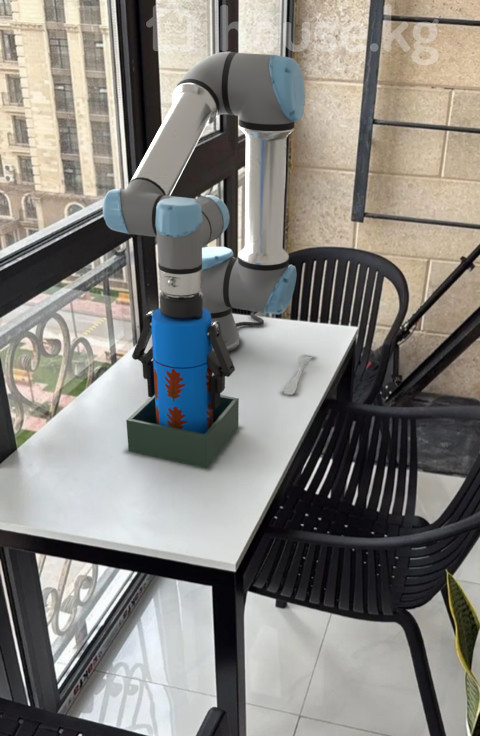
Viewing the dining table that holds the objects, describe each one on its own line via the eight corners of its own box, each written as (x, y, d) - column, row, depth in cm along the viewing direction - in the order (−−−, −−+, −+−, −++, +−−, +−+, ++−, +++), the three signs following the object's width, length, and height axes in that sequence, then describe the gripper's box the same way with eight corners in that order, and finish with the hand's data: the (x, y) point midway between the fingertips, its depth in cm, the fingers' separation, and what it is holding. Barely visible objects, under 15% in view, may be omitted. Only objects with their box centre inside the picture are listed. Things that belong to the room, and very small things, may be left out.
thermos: (203, 454, 142) (201, 330, 129) (148, 445, 144) (141, 322, 130) (219, 426, 151) (219, 308, 138) (168, 418, 153) (163, 301, 140)
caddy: (165, 413, 156) (164, 384, 153) (238, 428, 153) (238, 398, 149) (128, 451, 143) (126, 420, 139) (207, 468, 139) (206, 436, 136)
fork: (282, 402, 168) (282, 392, 166) (303, 356, 184) (303, 346, 182) (294, 404, 167) (294, 394, 166) (314, 358, 183) (315, 348, 182)
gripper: (107, 287, 132) (116, 397, 143) (238, 309, 126) (237, 421, 137) (128, 275, 138) (135, 380, 149) (253, 294, 132) (251, 403, 144)
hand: (184, 400), depth 143 cm, fingers open, 12 cm apart
